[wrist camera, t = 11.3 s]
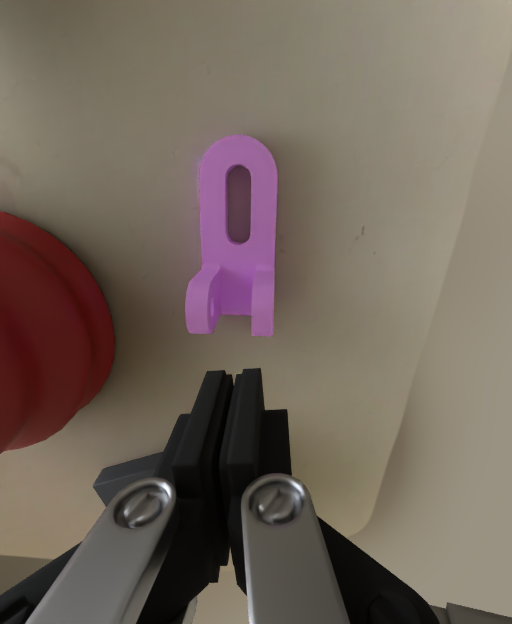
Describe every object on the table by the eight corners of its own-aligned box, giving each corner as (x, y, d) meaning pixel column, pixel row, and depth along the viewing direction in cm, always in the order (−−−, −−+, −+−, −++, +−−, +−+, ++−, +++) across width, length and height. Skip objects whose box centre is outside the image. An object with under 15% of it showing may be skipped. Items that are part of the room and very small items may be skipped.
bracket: (272, 310, 28) (272, 345, 22) (206, 308, 29) (186, 342, 22) (278, 138, 24) (280, 116, 18) (201, 137, 24) (175, 115, 18)
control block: (241, 428, 32) (237, 459, 29) (273, 497, 35) (274, 534, 31) (102, 468, 35) (81, 501, 31) (142, 530, 37) (127, 568, 34)
